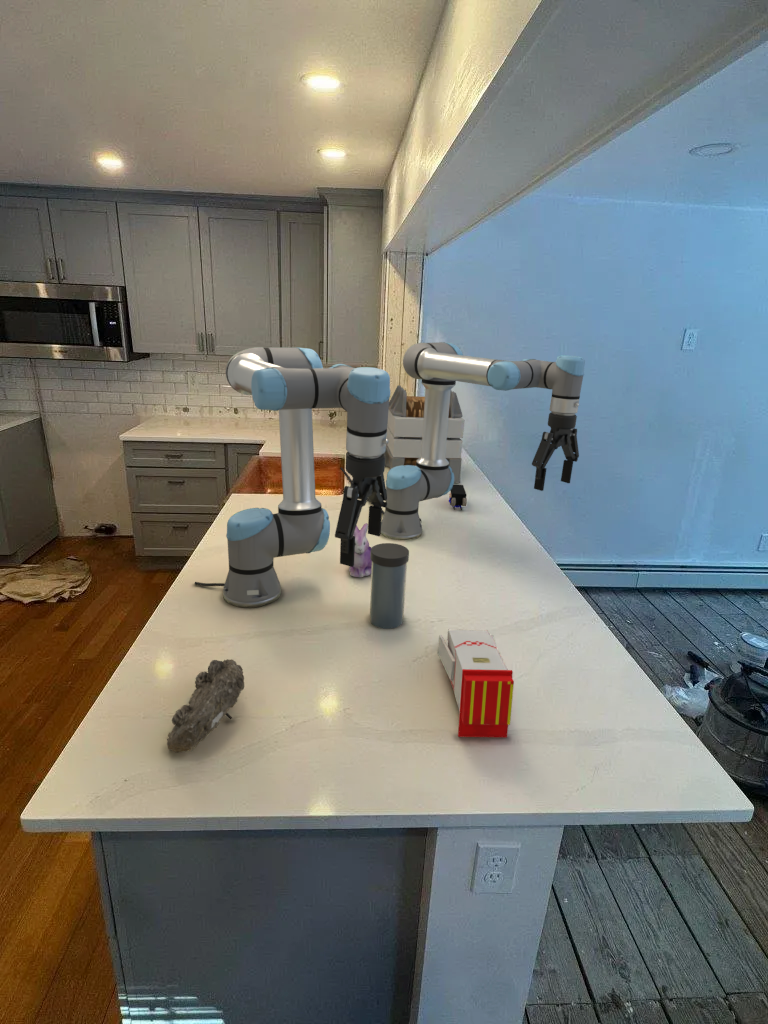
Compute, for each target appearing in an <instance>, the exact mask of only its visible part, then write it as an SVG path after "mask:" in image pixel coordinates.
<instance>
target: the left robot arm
mask: <svg viewBox="0 0 768 1024" xmlns="http://www.w3.org/2000/svg"><path fill="white" fill-rule="evenodd" d="M225 378H226V381H227V382H228V385H229V386H230V387H231V388H232V389H233V390H234V391H236V392H237V393H239V394H241V395H244V396H252V401H253V403H254V406H255V408H256V409H258V410H261V411H273V412H276V411H278V423H279V424H278V425H279V443H280V463H281V481H282V482H281V483H282V500H281V502H280V503H278V505H277V513H273V512H272V511H271V510H270V509H269V508H266V507H250V508H246V509H242V510H240V511H237V512H236V513H234V514H233V515H231V516H230V517H229V518H228V520H227V522H226V535H225V537H226V539H227V554H228V555H227V556H228V572H227V575H226V578H225V581H224V582H223V583H222V582H209V583H208V582H198V581H195V582H194V585H195V586H200V587H223V591H222V597H223V600H224V601H225V602H226V603H227V604H229V605H232V606H235V607H238V608H259V607H264V606H267V605H270V604H272V603H274V602H275V601H277V600H278V599H279V598H280V596H281V595H282V594H281V593H282V585H281V582H280V580H279V577H278V575H277V574H278V573H277V572H276V569H275V567H274V566H275V565H274V559H275V558H281V557H287V556H289V557H290V556H295V555H301V554H302V555H303V554H307V555H308V554H311V553H315V552H319V551H322V550H323V549H324V548H325V547H326V546H327V544H328V542H329V539H330V535H331V533H330V532H331V521H330V516H329V513H328V511H327V510H326V509H325V508H323V507H322V503H321V502H320V501H319V500H318V499H317V498H316V480H315V479H316V477H315V454H314V453H315V452H314V450H315V449H314V431H313V430H314V429H313V427H314V426H313V409H314V410H316V409H343V410H344V411H345V412H346V437H345V451H347V452H345V472H346V473H347V474H348V475H350V476H351V480H352V483H351V482H350V486H348V485H345V486H344V487H343V493H342V494H343V495H342V501H341V506H340V510H339V514H338V520H337V523H336V528H335V533H334V537H335V538H336V539H340V544H339V545H340V547H339V548H340V549H339V550H340V551H339V553H340V554H339V564H340V565H344V566H347V567H350V566H351V567H353V566H354V554H355V536H353V534H354V531H355V528H356V525H357V526H358V522H359V519H360V515H361V512H362V509H363V507H365V506H366V504H367V502H368V500H367V498H369V500H370V502H371V503H370V502H369V503H370V504H371V505H369V506H368V519H367V520H368V521H367V522H368V523H367V524H368V529H367V534H368V535H372V536H374V537H375V536H376V537H381V536H382V535H381V522H382V519H383V514H382V510H383V508H386V507H387V502H386V500H387V492H386V480H385V475H384V474H385V470H386V466H385V454H384V453H385V451H386V444H388V442H389V441H388V439H386V436H387V423H388V411H389V401H390V399H391V398H390V397H391V375H390V374H389V372H387V371H386V370H384V369H382V368H377V367H372V366H360V367H353V366H351V365H349V364H346V363H345V364H344V363H336V364H333V365H331V366H330V367H327V368H326V367H324V366H323V363H322V360H321V358H320V356H319V354H318V353H317V352H316V351H315V350H314V349H312V348H306V347H299V346H296V347H263V346H259V347H257V346H256V347H250V348H245V349H242V350H240V351H238V352H237V353H235V354H234V355H232V356H231V357H230V358H229V360H228V362H227V363H226V366H225Z"/></svg>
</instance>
